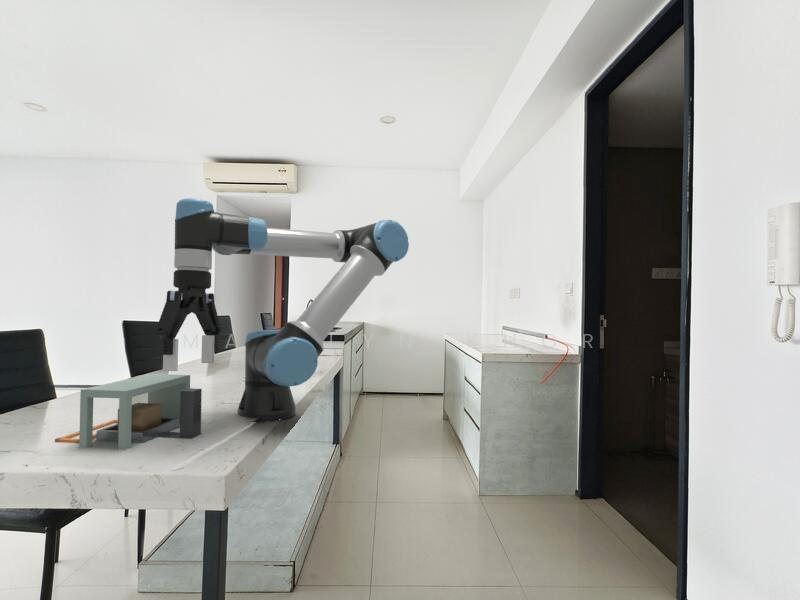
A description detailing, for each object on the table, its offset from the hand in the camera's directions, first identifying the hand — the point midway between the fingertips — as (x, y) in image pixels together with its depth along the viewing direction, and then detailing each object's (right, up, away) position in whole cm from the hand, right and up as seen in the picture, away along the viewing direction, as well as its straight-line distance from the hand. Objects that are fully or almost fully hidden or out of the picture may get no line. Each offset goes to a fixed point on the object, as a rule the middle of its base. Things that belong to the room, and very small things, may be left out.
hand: (190, 366), depth 94 cm
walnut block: (-12, -15, +1) cm, 19 cm away
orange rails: (-22, -16, +2) cm, 27 cm away
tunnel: (-12, -16, +1) cm, 20 cm away
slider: (-8, -16, +1) cm, 18 cm away
